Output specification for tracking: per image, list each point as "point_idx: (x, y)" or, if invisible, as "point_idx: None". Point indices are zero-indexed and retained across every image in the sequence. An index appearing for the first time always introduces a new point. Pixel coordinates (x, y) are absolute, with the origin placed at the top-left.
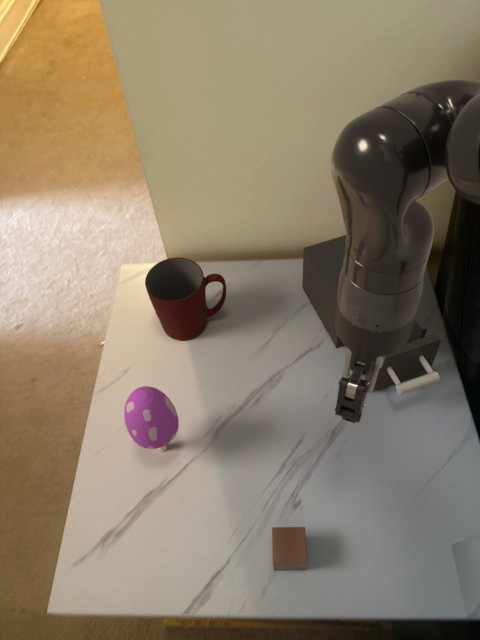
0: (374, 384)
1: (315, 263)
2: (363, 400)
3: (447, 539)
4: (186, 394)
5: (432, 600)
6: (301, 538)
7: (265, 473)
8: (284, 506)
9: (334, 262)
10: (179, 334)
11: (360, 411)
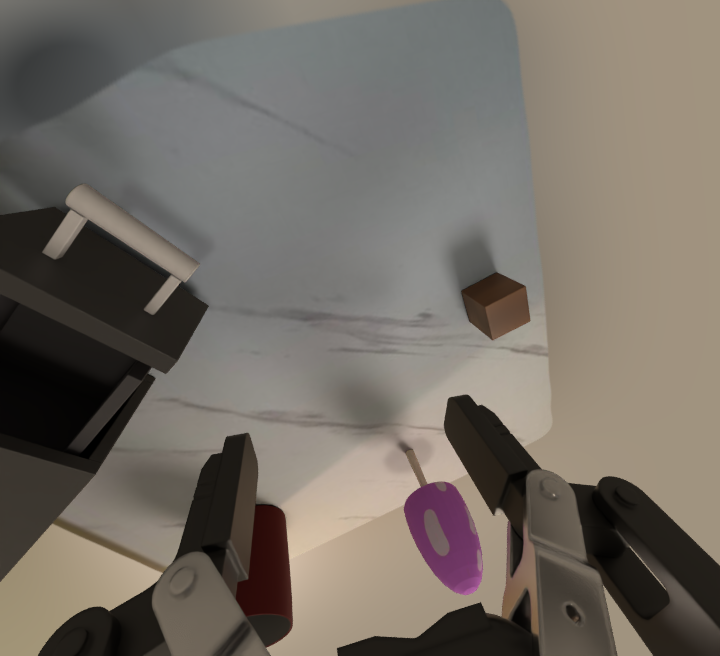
0: (586, 600)
1: (11, 559)
2: (577, 525)
3: (408, 71)
4: (343, 470)
5: (506, 79)
6: (499, 304)
7: (400, 363)
8: (432, 326)
9: None
10: (283, 525)
11: (657, 531)
